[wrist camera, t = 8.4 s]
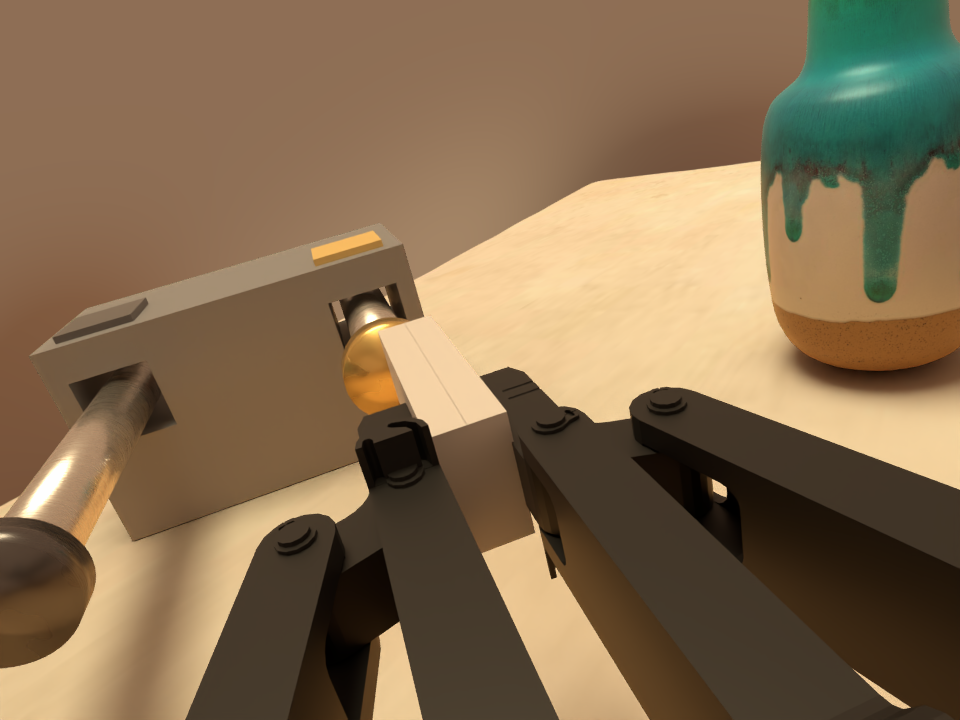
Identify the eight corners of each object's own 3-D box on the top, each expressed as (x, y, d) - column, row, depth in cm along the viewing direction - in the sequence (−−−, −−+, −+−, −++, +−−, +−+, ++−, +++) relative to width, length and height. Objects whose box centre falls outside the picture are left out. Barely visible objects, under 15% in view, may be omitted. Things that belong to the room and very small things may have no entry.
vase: (742, 385, 37) (709, 19, 29) (808, 313, 43) (794, -1, 36) (972, 417, 29) (1004, -62, 22) (1010, 324, 36) (1044, -69, 28)
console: (132, 541, 37) (24, 349, 32) (163, 462, 46) (83, 303, 41) (455, 425, 40) (400, 237, 36) (425, 373, 49) (378, 217, 45)
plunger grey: (-41, 689, 20) (-129, 578, 18) (117, 425, 39) (82, 357, 37) (109, 632, 21) (39, 520, 19) (194, 400, 39) (162, 332, 38)
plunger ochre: (361, 433, 30) (329, 343, 28) (333, 320, 48) (313, 262, 46) (454, 400, 30) (428, 311, 29) (391, 302, 49) (374, 244, 47)
